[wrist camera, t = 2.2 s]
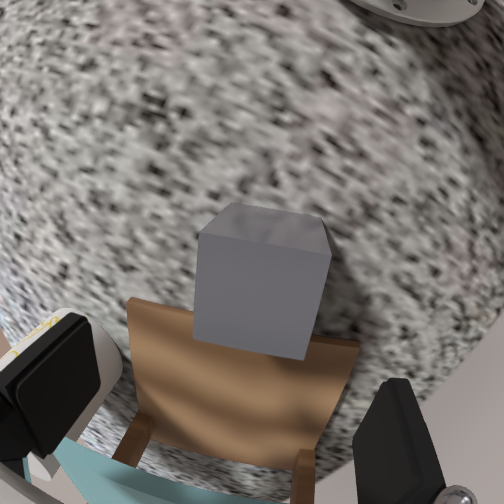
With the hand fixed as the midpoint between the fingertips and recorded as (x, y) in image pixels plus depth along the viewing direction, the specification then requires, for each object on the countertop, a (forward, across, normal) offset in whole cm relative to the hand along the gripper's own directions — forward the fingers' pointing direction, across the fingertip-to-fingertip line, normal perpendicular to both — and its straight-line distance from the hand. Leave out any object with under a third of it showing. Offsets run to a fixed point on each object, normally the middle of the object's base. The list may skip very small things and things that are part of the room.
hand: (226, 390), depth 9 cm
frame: (+11, +1, +12) cm, 16 cm away
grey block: (+10, 0, -1) cm, 10 cm away
